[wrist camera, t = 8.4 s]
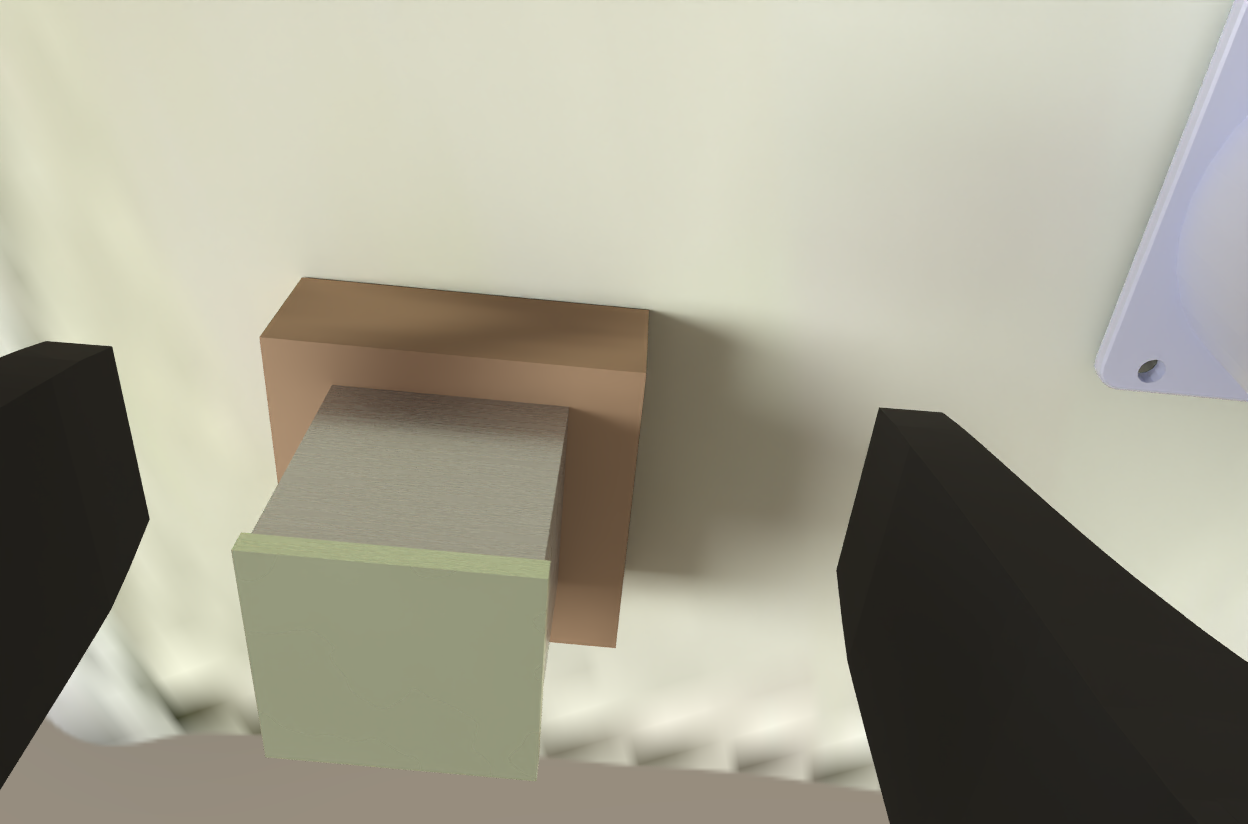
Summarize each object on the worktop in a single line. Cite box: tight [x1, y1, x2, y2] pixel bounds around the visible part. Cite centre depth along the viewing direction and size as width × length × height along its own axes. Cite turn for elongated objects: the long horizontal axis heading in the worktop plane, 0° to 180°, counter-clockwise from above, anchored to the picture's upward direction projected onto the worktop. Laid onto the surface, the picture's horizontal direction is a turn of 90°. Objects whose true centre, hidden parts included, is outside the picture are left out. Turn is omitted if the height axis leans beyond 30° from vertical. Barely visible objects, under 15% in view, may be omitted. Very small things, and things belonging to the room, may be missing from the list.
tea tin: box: [231, 385, 569, 781], centre depth 18 cm, size 5×5×5 cm
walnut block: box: [260, 278, 649, 648], centre depth 21 cm, size 7×7×2 cm
